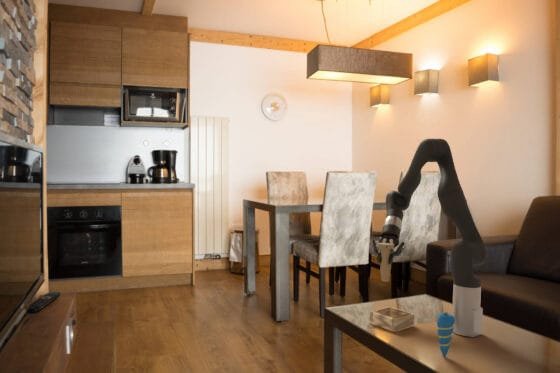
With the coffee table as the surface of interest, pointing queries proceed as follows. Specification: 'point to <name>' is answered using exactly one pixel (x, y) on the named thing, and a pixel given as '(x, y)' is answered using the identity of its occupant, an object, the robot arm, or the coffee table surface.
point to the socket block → (392, 319)
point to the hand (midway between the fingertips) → (384, 262)
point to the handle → (385, 260)
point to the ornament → (445, 331)
